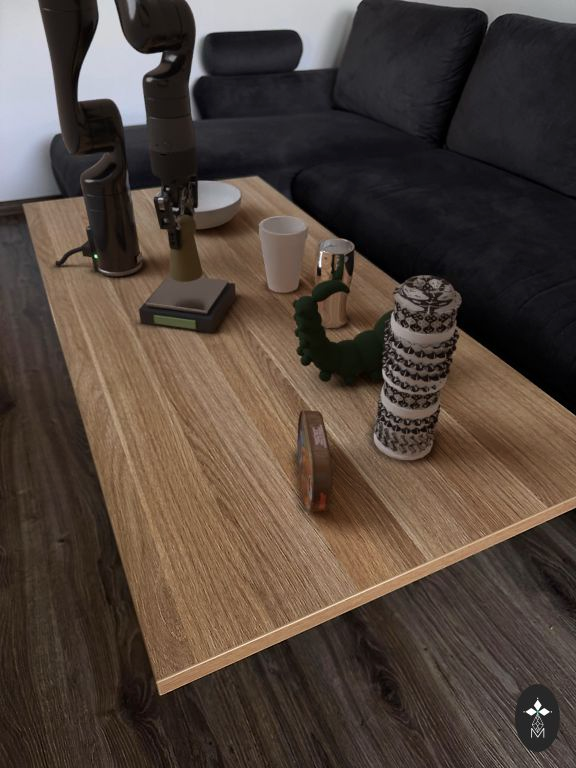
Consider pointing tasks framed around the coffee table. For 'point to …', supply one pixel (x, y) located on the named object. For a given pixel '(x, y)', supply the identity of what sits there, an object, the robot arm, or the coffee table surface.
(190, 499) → the coffee table surface
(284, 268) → the foam cup
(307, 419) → the tin
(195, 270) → the olive game pawn
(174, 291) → the scale platform
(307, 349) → the toy figurine
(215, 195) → the serving bowl
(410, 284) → the white patterned cylinder
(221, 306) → the scale
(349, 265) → the shiny silver cylinder
